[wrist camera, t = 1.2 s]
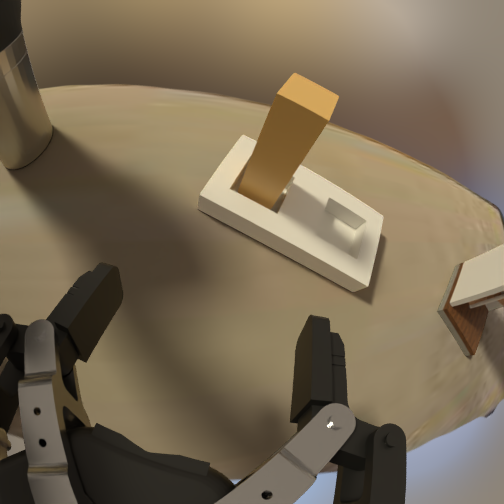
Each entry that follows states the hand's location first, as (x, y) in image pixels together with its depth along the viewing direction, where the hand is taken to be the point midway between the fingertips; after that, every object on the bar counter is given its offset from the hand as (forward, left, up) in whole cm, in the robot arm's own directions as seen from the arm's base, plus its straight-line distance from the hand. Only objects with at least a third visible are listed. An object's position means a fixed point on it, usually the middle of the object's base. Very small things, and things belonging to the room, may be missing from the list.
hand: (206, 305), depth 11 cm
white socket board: (+4, +16, -16) cm, 23 cm away
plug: (-1, +16, -15) cm, 22 cm away
